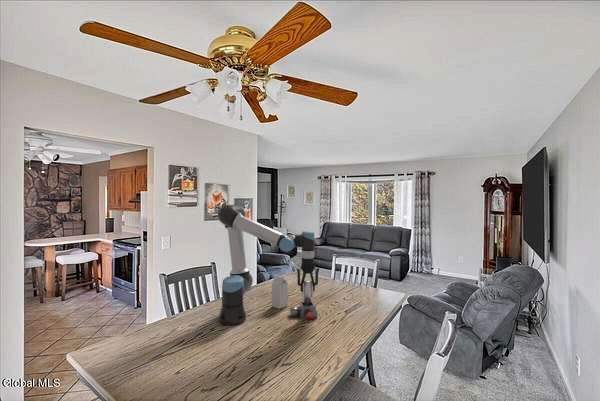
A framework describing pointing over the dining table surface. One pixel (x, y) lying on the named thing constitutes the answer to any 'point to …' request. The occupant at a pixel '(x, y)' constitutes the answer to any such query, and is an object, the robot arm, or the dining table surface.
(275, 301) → the milk carton
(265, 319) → the dining table surface
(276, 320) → the dining table surface
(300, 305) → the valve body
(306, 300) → the silver rounded cylinder
